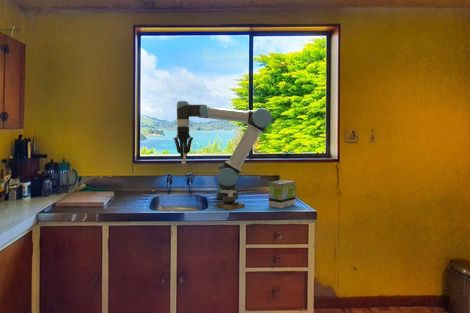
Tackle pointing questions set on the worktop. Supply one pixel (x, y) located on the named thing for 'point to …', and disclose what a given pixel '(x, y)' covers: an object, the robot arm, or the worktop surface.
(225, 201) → the cam capstan
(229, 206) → the stand
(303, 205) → the worktop surface
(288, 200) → the tea box
